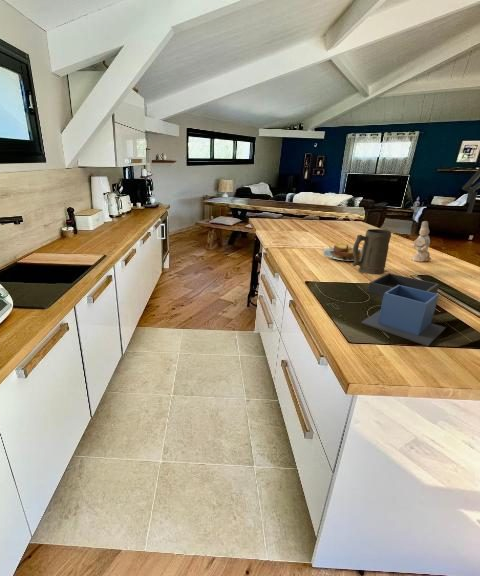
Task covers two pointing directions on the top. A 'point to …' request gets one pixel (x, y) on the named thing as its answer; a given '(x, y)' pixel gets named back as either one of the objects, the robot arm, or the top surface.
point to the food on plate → (342, 252)
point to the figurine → (422, 244)
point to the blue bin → (408, 309)
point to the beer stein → (372, 251)
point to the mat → (422, 338)
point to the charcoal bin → (393, 280)
